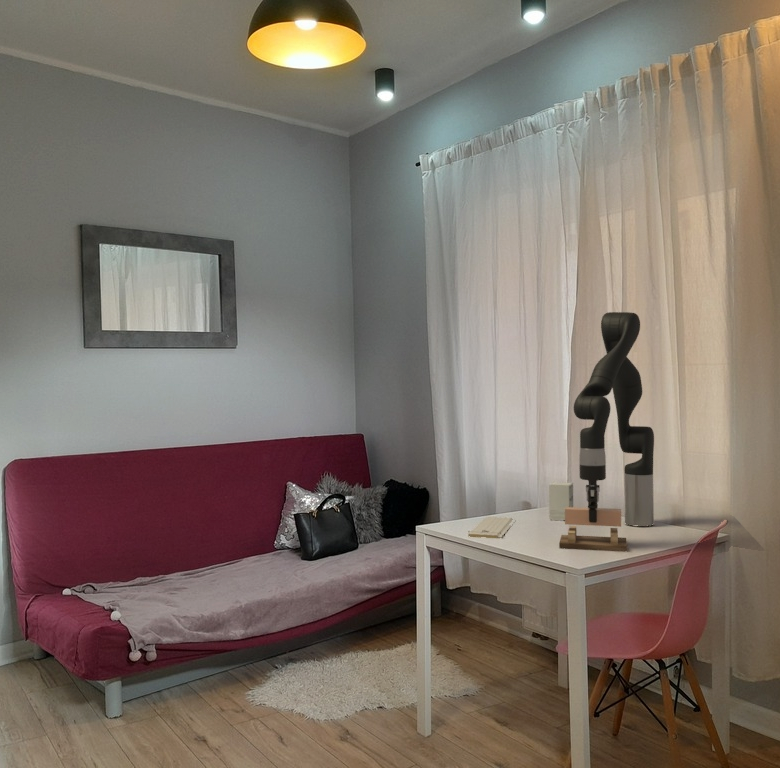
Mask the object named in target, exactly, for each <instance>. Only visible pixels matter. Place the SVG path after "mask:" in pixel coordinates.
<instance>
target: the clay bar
mask: <svg viewBox="0 0 780 768" xmlns="http://www.w3.org/2000/svg"><path fill="white" fill-rule="evenodd" d="M564 525H568V526H571V525H572V526H595V527H597V526H599V527H600V526H601V527H620V528H621V527H622V508H609V507H608V508H605V507H603V508H602V507H598V509H597V522H596V523H591V522H589V508H588V507H576V506H573V507H565V521H564Z"/></svg>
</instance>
